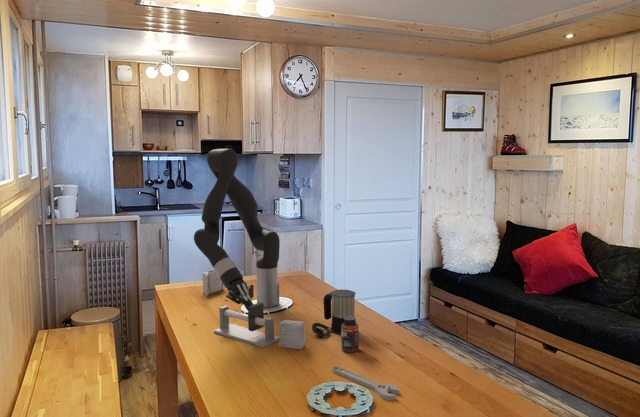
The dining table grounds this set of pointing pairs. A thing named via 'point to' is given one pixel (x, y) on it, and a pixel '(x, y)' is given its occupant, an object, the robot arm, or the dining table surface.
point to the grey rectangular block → (211, 282)
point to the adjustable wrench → (369, 383)
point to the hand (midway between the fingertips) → (252, 310)
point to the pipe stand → (243, 332)
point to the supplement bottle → (350, 335)
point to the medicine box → (292, 334)
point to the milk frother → (336, 311)
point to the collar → (255, 315)
